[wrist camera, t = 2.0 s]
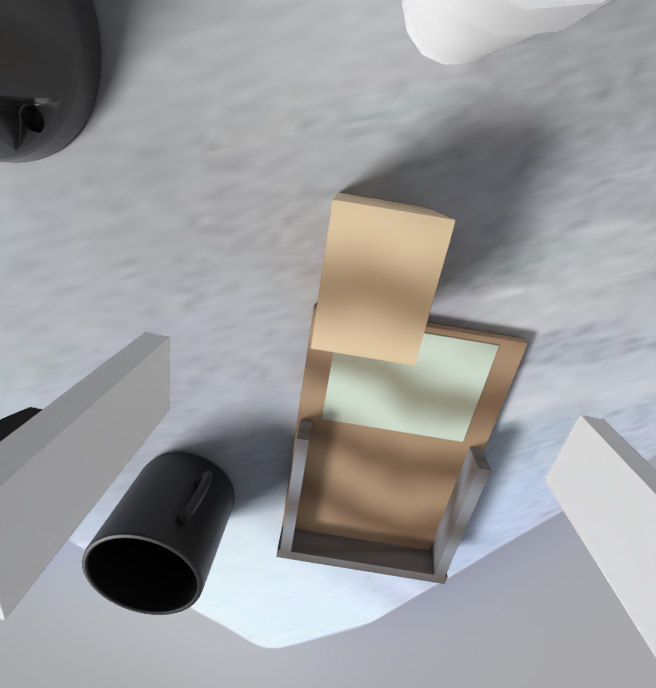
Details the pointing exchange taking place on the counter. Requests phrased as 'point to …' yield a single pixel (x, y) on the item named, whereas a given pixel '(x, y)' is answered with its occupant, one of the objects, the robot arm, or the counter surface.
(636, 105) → the counter surface
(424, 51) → the foam cup
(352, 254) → the oak block
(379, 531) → the slot board
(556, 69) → the counter surface
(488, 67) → the counter surface
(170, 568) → the mug
